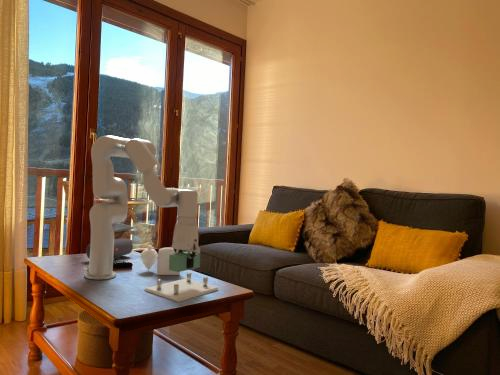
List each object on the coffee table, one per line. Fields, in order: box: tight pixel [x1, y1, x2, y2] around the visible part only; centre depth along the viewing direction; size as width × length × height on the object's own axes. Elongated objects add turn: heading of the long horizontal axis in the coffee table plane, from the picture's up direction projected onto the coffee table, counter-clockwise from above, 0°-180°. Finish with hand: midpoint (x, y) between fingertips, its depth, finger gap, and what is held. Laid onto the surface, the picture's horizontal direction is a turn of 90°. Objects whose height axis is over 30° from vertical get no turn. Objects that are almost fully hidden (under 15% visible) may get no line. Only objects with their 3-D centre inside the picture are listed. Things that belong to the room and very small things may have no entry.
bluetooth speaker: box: [85, 238, 134, 260], centre depth 205 cm, size 23×9×10 cm, turn 149°
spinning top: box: [140, 244, 158, 272], centre depth 185 cm, size 8×8×12 cm
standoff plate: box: [145, 272, 219, 303], centre depth 158 cm, size 18×22×5 cm
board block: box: [169, 251, 201, 273], centre depth 158 cm, size 5×12×6 cm, turn 145°
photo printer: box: [156, 246, 181, 276], centre depth 181 cm, size 10×4×12 cm, turn 100°
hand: (184, 266), depth 158 cm, fingers closed on board block, 5 cm apart
